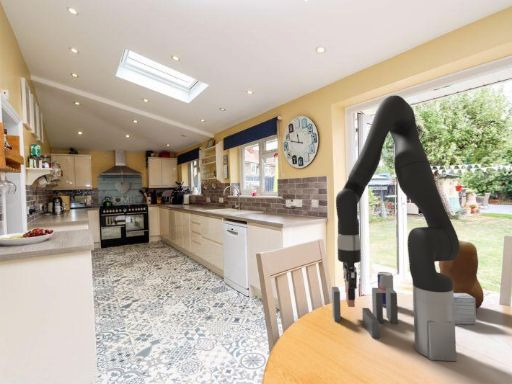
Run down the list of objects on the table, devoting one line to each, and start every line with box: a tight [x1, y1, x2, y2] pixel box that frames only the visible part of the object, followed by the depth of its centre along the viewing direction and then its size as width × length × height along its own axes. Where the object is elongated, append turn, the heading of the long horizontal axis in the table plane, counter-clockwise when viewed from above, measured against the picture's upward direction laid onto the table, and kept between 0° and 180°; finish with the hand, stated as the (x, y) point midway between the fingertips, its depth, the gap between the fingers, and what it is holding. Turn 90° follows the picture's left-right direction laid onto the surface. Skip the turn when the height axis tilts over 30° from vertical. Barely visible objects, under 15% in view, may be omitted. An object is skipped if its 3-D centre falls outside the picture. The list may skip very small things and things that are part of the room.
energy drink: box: [376, 271, 394, 308], centre depth 106 cm, size 5×5×12 cm
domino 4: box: [371, 287, 384, 324], centre depth 94 cm, size 5×2×10 cm, turn 172°
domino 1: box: [331, 286, 342, 323], centre depth 96 cm, size 5×2×10 cm, turn 172°
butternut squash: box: [438, 239, 485, 310], centre depth 101 cm, size 14×13×25 cm
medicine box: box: [453, 293, 477, 325], centre depth 91 cm, size 8×4×9 cm, turn 84°
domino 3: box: [361, 307, 380, 339], centre depth 87 cm, size 5×2×10 cm
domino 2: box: [345, 277, 356, 308], centre depth 96 cm, size 5×2×10 cm, turn 170°
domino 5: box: [385, 288, 399, 325], centre depth 93 cm, size 5×2×10 cm, turn 172°
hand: (350, 296), depth 96 cm, fingers closed on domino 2, 5 cm apart
